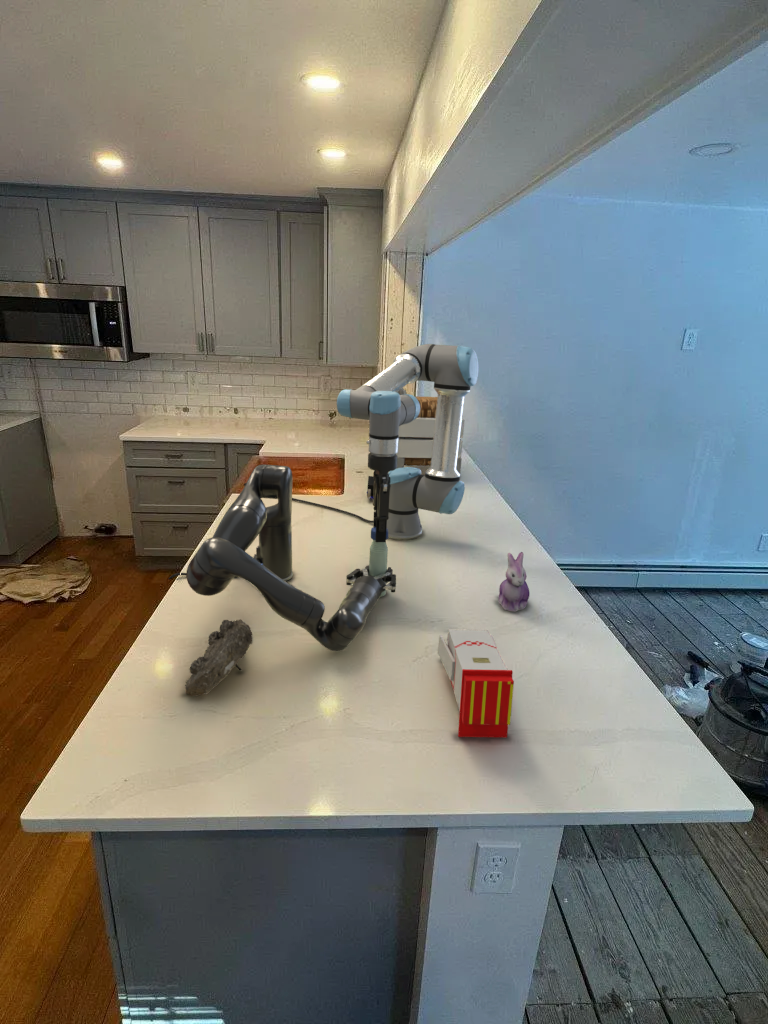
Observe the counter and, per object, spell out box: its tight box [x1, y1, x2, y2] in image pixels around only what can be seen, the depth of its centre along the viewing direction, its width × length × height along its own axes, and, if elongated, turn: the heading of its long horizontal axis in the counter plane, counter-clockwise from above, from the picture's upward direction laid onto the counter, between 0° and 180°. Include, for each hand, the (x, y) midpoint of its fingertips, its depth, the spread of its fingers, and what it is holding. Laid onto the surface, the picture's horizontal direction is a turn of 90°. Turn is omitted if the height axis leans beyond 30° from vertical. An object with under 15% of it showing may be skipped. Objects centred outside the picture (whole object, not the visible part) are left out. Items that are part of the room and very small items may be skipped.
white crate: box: [396, 387, 465, 475], centre depth 268 cm, size 34×33×41 cm
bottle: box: [368, 539, 389, 598], centre depth 155 cm, size 5×5×18 cm
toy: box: [437, 628, 515, 738], centre depth 117 cm, size 12×13×30 cm
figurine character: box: [366, 475, 374, 502], centre depth 235 cm, size 7×8×15 cm
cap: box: [370, 526, 389, 541], centre depth 152 cm, size 5×5×2 cm
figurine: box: [497, 551, 530, 612], centre depth 152 cm, size 9×10×15 cm
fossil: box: [184, 619, 253, 697], centre depth 121 cm, size 22×10×15 cm
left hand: (380, 568), depth 158 cm, fingers closed on bottle, 5 cm apart
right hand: (379, 537), depth 152 cm, fingers closed on cap, 4 cm apart
